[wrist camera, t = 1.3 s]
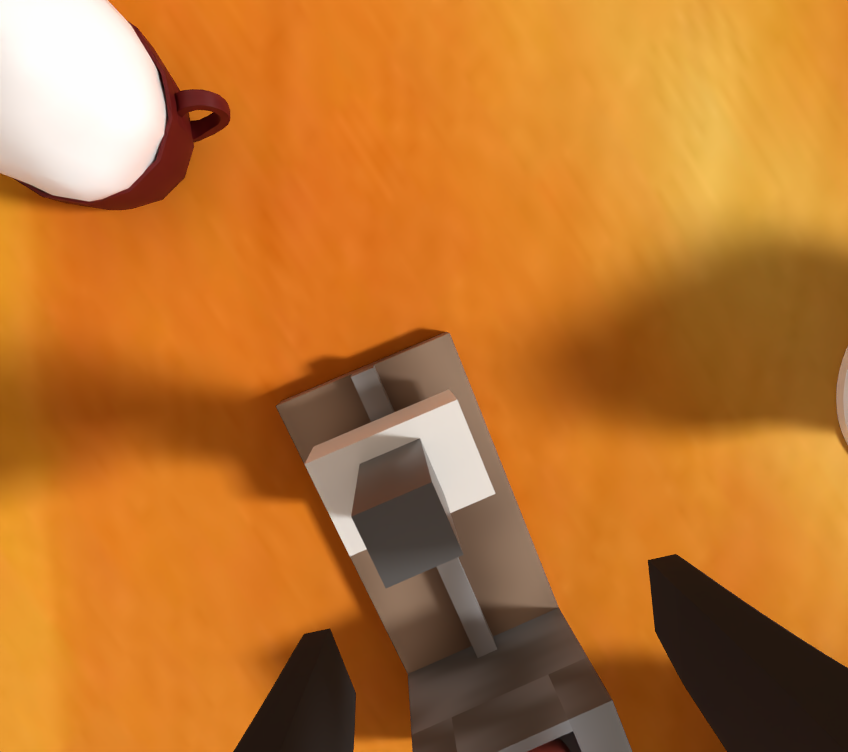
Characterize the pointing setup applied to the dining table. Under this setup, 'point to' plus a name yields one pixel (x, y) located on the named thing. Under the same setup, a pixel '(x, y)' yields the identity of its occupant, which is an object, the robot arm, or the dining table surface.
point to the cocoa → (93, 107)
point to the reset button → (552, 747)
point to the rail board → (468, 589)
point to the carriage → (402, 485)
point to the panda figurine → (843, 396)
